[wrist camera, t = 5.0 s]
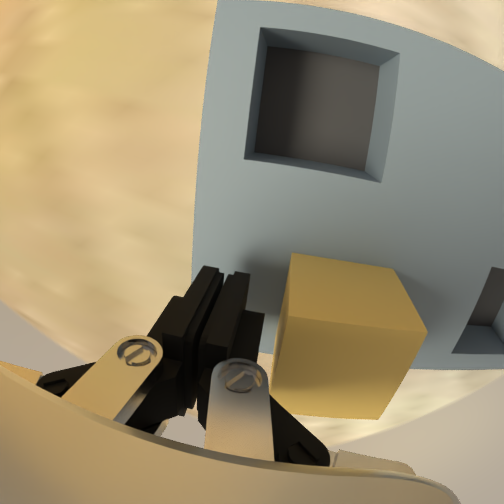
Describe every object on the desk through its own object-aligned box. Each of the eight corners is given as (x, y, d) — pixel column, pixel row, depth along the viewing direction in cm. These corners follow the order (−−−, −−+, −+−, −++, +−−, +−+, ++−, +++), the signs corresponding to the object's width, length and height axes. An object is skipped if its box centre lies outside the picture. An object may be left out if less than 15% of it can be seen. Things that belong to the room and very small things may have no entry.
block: (291, 252, 11) (288, 315, 8) (393, 269, 11) (427, 332, 7) (275, 337, 13) (265, 410, 9) (363, 348, 13) (378, 419, 9)
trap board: (234, 23, 11) (197, -29, 6) (578, 144, 9) (637, 163, 4) (207, 304, 16) (173, 376, 11) (514, 340, 15) (549, 392, 10)
